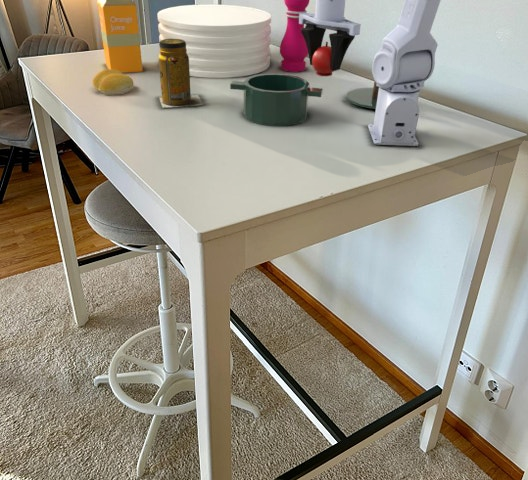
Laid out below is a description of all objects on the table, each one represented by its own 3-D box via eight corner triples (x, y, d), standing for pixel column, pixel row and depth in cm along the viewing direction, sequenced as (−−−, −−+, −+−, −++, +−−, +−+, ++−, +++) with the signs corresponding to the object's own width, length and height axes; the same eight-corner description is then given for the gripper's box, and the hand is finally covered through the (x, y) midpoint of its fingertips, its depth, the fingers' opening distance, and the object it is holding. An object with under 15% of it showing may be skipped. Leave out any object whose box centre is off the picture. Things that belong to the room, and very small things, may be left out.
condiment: (159, 97, 117) (153, 37, 110) (198, 95, 119) (195, 36, 112) (162, 108, 111) (157, 45, 104) (203, 106, 113) (201, 44, 106)
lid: (408, 115, 113) (413, 90, 110) (342, 108, 115) (345, 84, 112) (408, 95, 123) (412, 73, 120) (348, 90, 125) (350, 68, 123)
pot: (315, 130, 104) (318, 96, 100) (223, 121, 107) (223, 87, 103) (323, 109, 114) (326, 77, 110) (239, 101, 117) (239, 70, 113)
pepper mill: (291, 74, 135) (297, -18, 123) (273, 67, 140) (276, -22, 128) (313, 69, 139) (320, -20, 127) (294, 63, 143) (299, -24, 132)
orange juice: (111, 73, 131) (98, -22, 119) (105, 64, 138) (92, -27, 126) (143, 71, 134) (134, -23, 122) (136, 62, 140) (127, -27, 128)
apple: (338, 78, 112) (341, 45, 109) (311, 77, 113) (313, 44, 109) (336, 71, 117) (339, 39, 113) (310, 70, 117) (312, 38, 113)
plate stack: (140, 59, 142) (135, 10, 136) (224, 45, 158) (223, 1, 151) (205, 84, 126) (203, 30, 119) (292, 66, 141) (294, 17, 135)
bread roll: (107, 98, 116) (105, 78, 114) (88, 88, 121) (85, 69, 119) (142, 91, 120) (140, 72, 118) (121, 81, 126) (119, 63, 124)
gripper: (373, -4, 104) (364, 71, 112) (317, -13, 112) (312, 57, 120) (350, 0, 100) (342, 77, 108) (293, -10, 108) (289, 62, 116)
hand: (324, 67), depth 114 cm, fingers closed on apple, 5 cm apart
